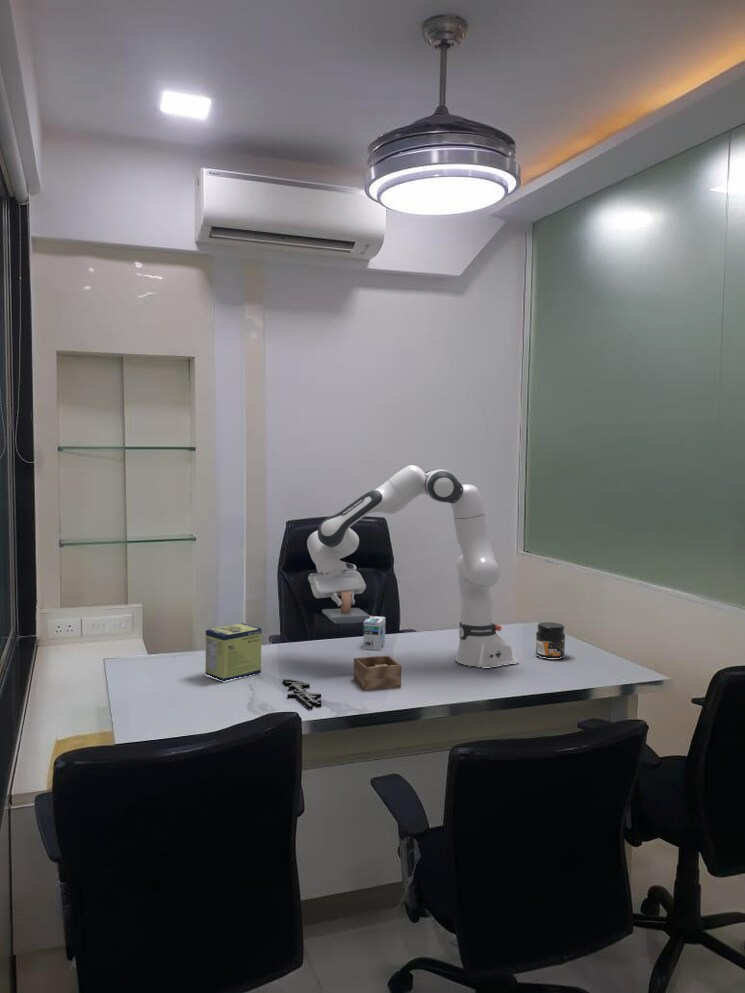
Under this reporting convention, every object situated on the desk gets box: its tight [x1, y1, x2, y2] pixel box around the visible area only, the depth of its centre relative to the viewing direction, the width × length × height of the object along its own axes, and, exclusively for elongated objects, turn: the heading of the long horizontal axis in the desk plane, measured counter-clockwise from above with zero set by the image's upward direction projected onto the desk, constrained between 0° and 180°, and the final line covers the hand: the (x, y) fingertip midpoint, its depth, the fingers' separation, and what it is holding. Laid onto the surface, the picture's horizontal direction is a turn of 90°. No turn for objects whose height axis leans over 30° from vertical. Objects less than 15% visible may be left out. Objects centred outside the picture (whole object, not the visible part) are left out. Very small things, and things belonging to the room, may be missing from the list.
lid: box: [321, 591, 371, 625], centre depth 257 cm, size 13×13×10 cm
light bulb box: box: [363, 615, 386, 651], centre depth 290 cm, size 11×7×11 cm, turn 168°
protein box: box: [204, 622, 262, 681], centre depth 250 cm, size 10×16×16 cm
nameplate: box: [282, 678, 322, 711], centre depth 231 cm, size 28×2×10 cm
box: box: [353, 655, 402, 691], centre depth 244 cm, size 12×12×7 cm
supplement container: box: [535, 621, 566, 658], centre depth 279 cm, size 10×10×12 cm
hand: (347, 604), depth 256 cm, fingers closed on lid, 3 cm apart
